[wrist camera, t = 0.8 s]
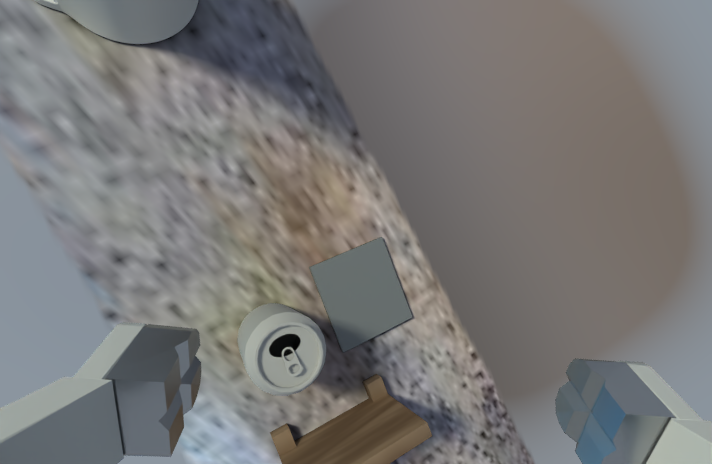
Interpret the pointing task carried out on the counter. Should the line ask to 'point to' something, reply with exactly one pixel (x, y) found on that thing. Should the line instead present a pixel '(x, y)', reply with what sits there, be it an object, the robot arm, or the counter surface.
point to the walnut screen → (357, 433)
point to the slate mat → (361, 293)
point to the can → (281, 349)
